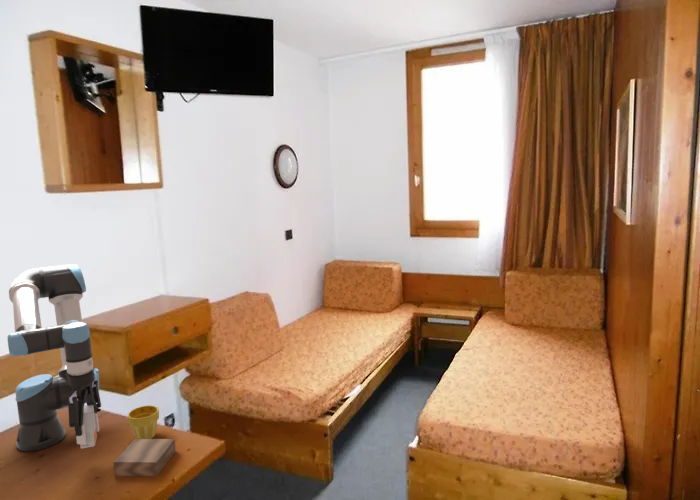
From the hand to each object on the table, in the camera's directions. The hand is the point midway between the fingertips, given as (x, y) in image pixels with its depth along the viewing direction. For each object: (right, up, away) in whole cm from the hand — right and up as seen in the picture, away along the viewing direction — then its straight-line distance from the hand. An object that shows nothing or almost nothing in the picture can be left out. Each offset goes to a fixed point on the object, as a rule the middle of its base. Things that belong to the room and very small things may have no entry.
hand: (88, 437), depth 163 cm
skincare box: (0, -2, 0) cm, 2 cm away
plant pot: (+11, -7, +19) cm, 23 cm away
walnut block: (+19, -10, +1) cm, 21 cm away
